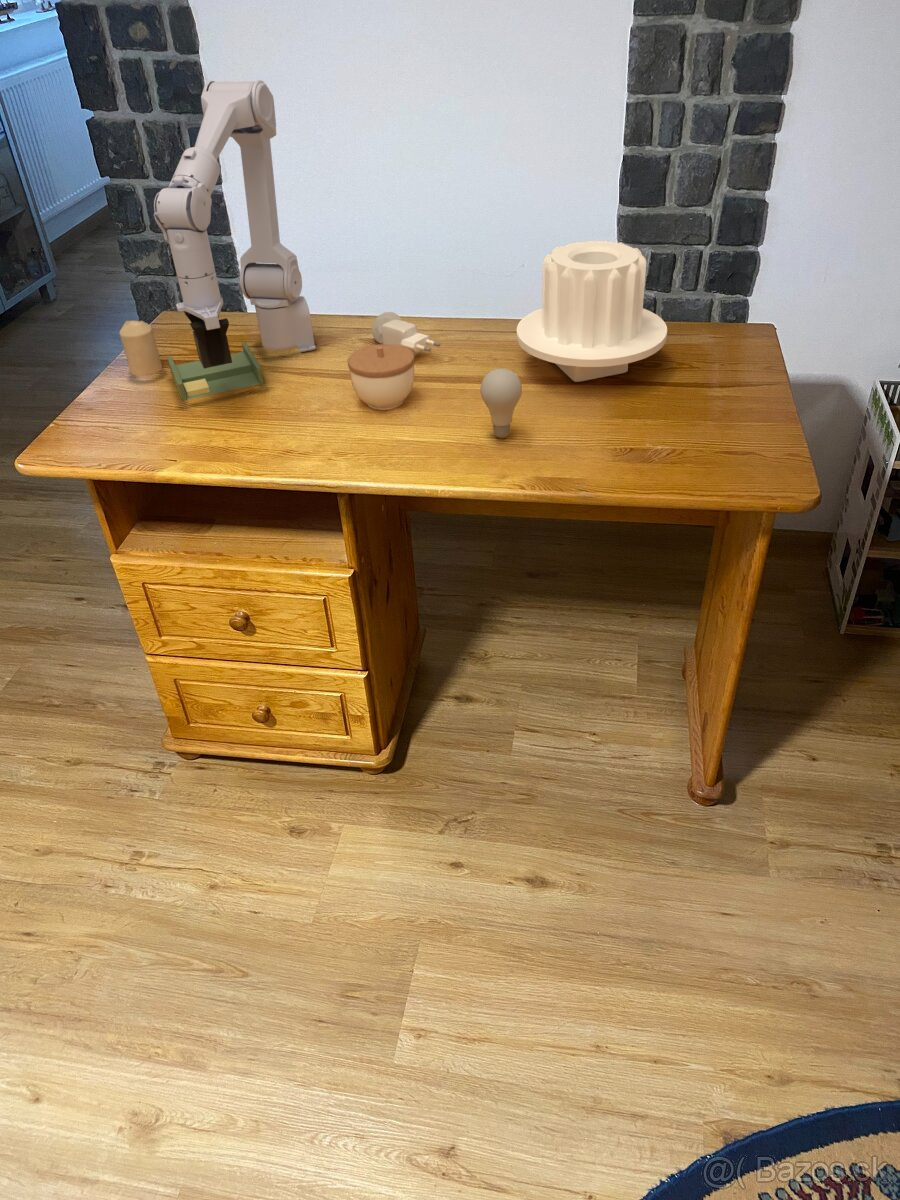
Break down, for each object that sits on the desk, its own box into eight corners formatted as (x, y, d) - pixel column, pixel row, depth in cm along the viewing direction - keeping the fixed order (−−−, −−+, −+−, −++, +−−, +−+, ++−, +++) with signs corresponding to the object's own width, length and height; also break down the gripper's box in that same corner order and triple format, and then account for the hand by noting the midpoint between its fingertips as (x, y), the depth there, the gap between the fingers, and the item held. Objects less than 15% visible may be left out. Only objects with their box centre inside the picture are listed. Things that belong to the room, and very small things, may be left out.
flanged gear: (621, 328, 169) (629, 222, 157) (690, 382, 150) (705, 266, 138) (496, 351, 164) (494, 244, 152) (551, 410, 145) (553, 293, 133)
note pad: (206, 383, 156) (205, 378, 156) (210, 392, 153) (209, 387, 153) (184, 388, 155) (182, 382, 155) (187, 397, 152) (186, 391, 152)
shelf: (250, 364, 165) (246, 341, 162) (265, 390, 156) (261, 367, 153) (172, 380, 161) (167, 357, 159) (183, 407, 152) (177, 384, 150)
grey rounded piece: (409, 316, 172) (400, 307, 167) (410, 348, 171) (401, 340, 167) (378, 320, 173) (369, 311, 168) (379, 352, 173) (370, 344, 168)
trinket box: (428, 392, 152) (424, 338, 146) (399, 421, 145) (393, 365, 139) (372, 383, 156) (366, 330, 150) (341, 410, 149) (333, 356, 143)
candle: (168, 369, 165) (154, 315, 159) (157, 382, 161) (142, 327, 154) (139, 369, 166) (124, 315, 159) (127, 382, 161) (112, 328, 155)
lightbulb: (509, 451, 136) (509, 382, 129) (474, 441, 138) (472, 374, 131) (529, 433, 139) (529, 366, 133) (494, 424, 142) (493, 358, 135)
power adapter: (445, 360, 162) (443, 329, 158) (427, 370, 159) (424, 338, 155) (398, 346, 168) (396, 315, 164) (380, 355, 165) (377, 324, 161)
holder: (226, 352, 149) (221, 325, 146) (232, 362, 145) (226, 335, 143) (198, 358, 147) (192, 331, 145) (203, 368, 144) (197, 341, 141)
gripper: (162, 263, 142) (182, 346, 150) (177, 292, 131) (197, 379, 140) (207, 255, 144) (225, 337, 152) (225, 283, 133) (243, 370, 142)
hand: (215, 357), depth 146 cm, fingers closed on holder, 4 cm apart
